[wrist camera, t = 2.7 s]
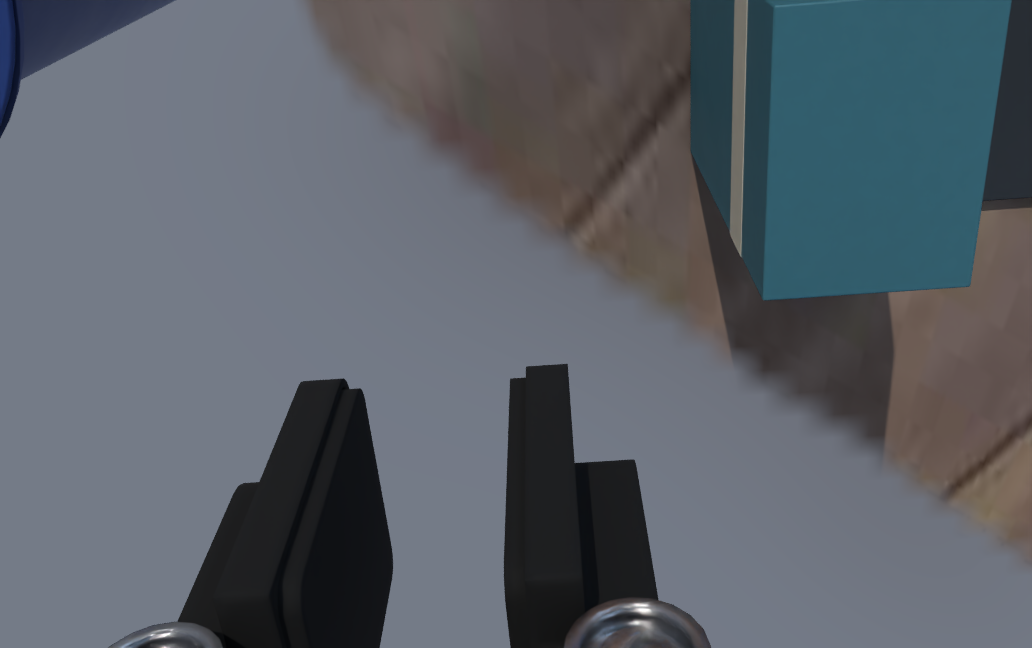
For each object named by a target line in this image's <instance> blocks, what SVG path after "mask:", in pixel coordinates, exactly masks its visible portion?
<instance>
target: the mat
mask: <svg viewBox="0 0 1032 648" xmlns="http://www.w3.org/2000/svg"><path fill="white" fill-rule="evenodd" d="M1030 197H1032V0H1012V2H1011V9H1010V16H1009V22H1008V29H1007V36H1006V43H1005V50H1004V57H1003V64H1002V71H1001V77H1000V84H999V91H998V98H997V105H996V112H995V119H994V125H993V132H992V139H991V146H990V153H989V160H988V167H987V173H986V180H985V187H984V194H983V201H988V200H1002V199H1016V198H1030Z"/></svg>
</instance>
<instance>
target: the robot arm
mask: <svg viewBox="0 0 1032 648" xmlns="http://www.w3.org/2000/svg"><path fill="white" fill-rule="evenodd" d="M509 401H510V402H509V429H508V430H509V431H508V458H507V489H506V517H505V546H504V586H505V602H506V611H507V620H508V629H509V637H510V645H511V648H711V645H710V643H709V641H708V638H707V636H706V634H705V631H704V629H703V628H702V627H701V626H700V625H699V624H698V623H697V622H696V621H695V619H694V618H693V617H692V616H691V615H689V614H688V613H686V612H684V611H682V610H681V609H679V608H678V607H676V606H674V605H672V604H669V603H665V602H662V601H659V600H658V595H657V589H656V582H655V577H654V570H653V565H652V558H651V552H650V546H649V541H648V534H647V528H646V522H645V516H644V510H643V504H642V498H641V492H640V486H639V480H638V474H637V468H636V463H635V460H619V461H602V462H587V463H574V449H573V435H572V421H571V406H570V392H569V377H568V364H560V365H543V366H528V367H526V378H513V379H510V399H509ZM392 574H393V555H392V548H391V541H390V536H389V530H388V525H387V519H386V514H385V508H384V503H383V497H382V492H381V486H380V481H379V475H378V469H377V464H376V459H375V454H374V447H373V442H372V436H371V431H370V425H369V420H368V414H367V409H366V403H365V398H364V394H363V392H362V390H361V389H349V387H348V384H347V382H346V380H345V379H331V380H316V381H303V382H301V383H300V385H299V386H298V389H297V391H296V394H295V396H294V399H293V401H292V403H291V406H290V408H289V411H288V413H287V416H286V418H285V421H284V423H283V426H282V428H281V431H280V433H279V435H278V438H277V440H276V443H275V445H274V448H273V450H272V453H271V455H270V458H269V460H268V463H267V465H266V468H265V470H264V473H263V475H262V477H261V480H260V482H256V483H243V484H241V485H239V486H238V487H237V489H236V491H235V492H234V494H233V496H232V498H231V501H230V503H229V505H228V508H227V510H226V512H225V514H224V517H223V519H222V521H221V524H220V526H219V528H218V531H217V533H216V535H215V537H214V540H213V542H212V544H211V547H210V549H209V551H208V553H207V556H206V558H205V560H204V563H203V565H202V567H201V570H200V571H199V574H198V576H197V578H196V581H195V583H194V585H193V587H192V590H191V592H190V594H189V597H188V599H187V601H186V603H185V606H184V608H183V610H182V613H181V615H180V617H179V619H178V622H171V623H164V624H158V625H153V626H150V627H147V628H144V629H142V630H139V631H136V632H134V633H131V634H129V635H128V636H126V637H124V638H123V639H121V640H119V641H118V642H116V643H114V644H112V645H111V646H110V647H109V648H379V647H380V642H381V636H382V631H383V625H384V620H385V614H386V608H387V603H388V598H389V592H390V586H391V581H392Z"/></svg>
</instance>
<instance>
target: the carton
mask: <svg viewBox="0 0 1032 648" xmlns="http://www.w3.org/2000/svg"><path fill="white" fill-rule="evenodd" d="M1011 2H1012V0H691V153H692V155H693V157H694V159H695V161H696V163H697V165H698V167H699V169H700V172H701V174H702V176H703V178H704V180H705V182H706V184H707V186H708V188H709V190H710V192H711V194H712V196H713V198H714V200H715V202H716V205H717V207H718V209H719V211H720V213H721V215H722V217H723V219H724V221H725V223H726V225H727V227H728V229H729V231H730V236H731V238H732V240H733V242H734V244H735V246H736V248H737V250H738V253H739V255H740V257H742V258H743V260H744V262H745V264H746V266H747V268H748V270H749V273H750V275H751V277H752V279H753V281H754V283H755V285H756V287H757V289H758V291H759V293H760V295H761V297H762V299H763V300H765V301H766V300H781V299H796V298H810V297H825V296H840V295H854V294H869V293H884V292H898V291H913V290H928V289H942V288H957V287H969V286H970V283H971V276H972V270H973V263H974V256H975V249H976V242H977V235H978V228H979V221H980V215H981V208H982V201H983V194H984V187H985V180H986V173H987V167H988V160H989V153H990V146H991V139H992V132H993V125H994V119H995V112H996V105H997V98H998V91H999V84H1000V77H1001V71H1002V64H1003V57H1004V50H1005V43H1006V36H1007V29H1008V22H1009V16H1010V9H1011Z"/></svg>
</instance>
